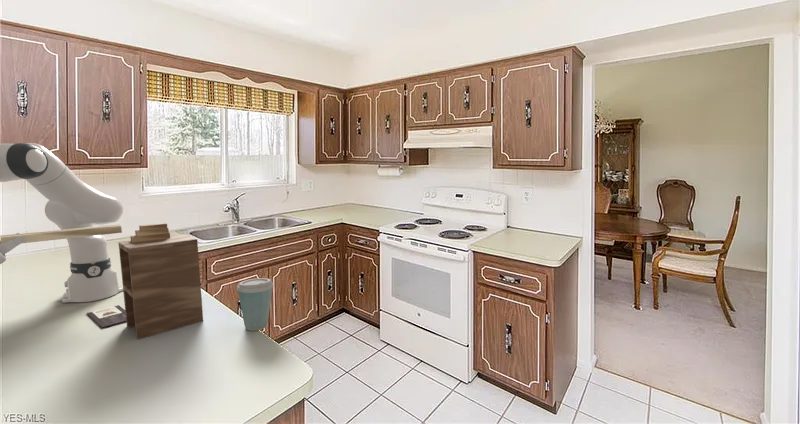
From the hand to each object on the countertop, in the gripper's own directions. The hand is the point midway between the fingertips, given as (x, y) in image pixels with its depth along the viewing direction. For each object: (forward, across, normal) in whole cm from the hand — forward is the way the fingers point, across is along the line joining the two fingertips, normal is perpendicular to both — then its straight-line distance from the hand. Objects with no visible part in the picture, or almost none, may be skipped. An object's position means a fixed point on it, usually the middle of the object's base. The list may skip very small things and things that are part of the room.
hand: (22, 236), depth 95 cm
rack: (+10, 0, +43) cm, 44 cm away
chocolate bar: (0, +20, +38) cm, 43 cm away
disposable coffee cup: (+26, -24, +53) cm, 63 cm away
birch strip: (+6, 0, +5) cm, 8 cm away
